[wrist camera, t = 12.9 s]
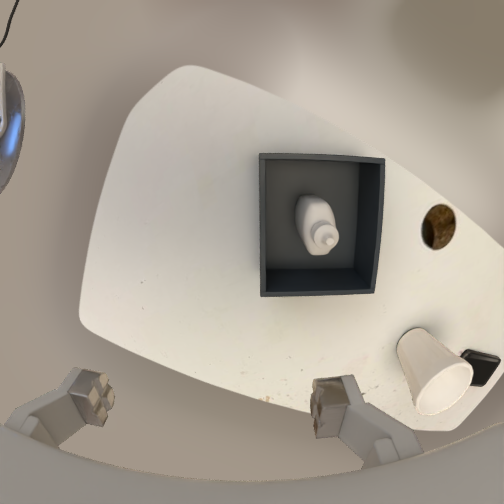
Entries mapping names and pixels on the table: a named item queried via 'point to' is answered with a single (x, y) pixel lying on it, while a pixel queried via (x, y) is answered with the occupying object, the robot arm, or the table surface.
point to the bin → (346, 219)
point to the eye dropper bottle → (316, 224)
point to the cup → (432, 372)
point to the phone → (481, 366)
